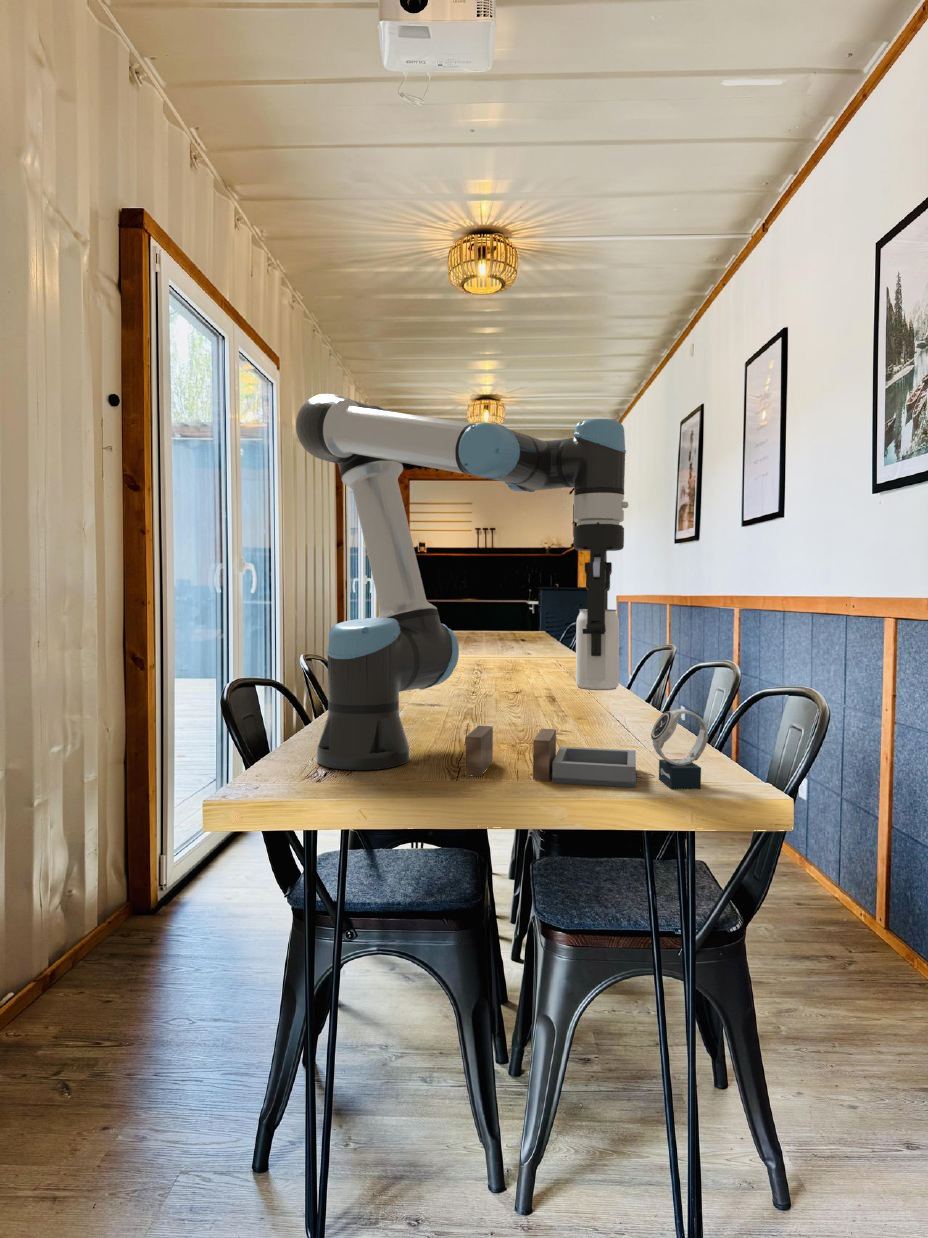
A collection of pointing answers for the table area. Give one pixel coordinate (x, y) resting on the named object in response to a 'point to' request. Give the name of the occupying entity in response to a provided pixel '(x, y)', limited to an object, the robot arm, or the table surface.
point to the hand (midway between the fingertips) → (597, 675)
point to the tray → (595, 767)
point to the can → (611, 653)
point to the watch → (678, 770)
